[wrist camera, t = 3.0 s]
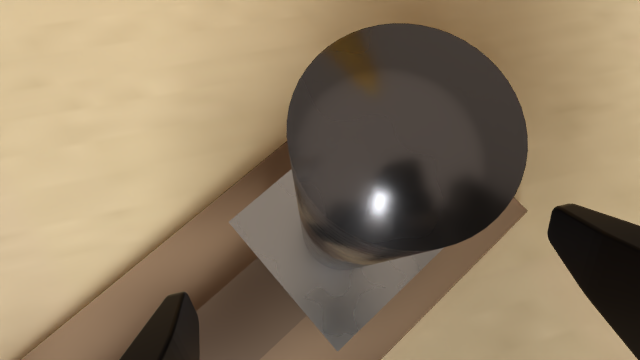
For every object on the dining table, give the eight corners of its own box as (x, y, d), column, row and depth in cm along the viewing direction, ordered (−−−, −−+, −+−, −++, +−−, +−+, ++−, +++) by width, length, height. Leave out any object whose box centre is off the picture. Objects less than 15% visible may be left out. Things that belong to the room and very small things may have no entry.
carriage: (444, 239, 16) (745, 149, 5) (335, 345, 15) (408, 535, 4) (344, 134, 17) (408, -135, 6) (235, 226, 16) (64, 107, 5)
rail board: (516, 214, 19) (584, 193, 15) (34, 699, 14) (-103, 907, 10) (376, 75, 21) (395, 15, 16) (-100, 467, 16) (-272, 546, 11)
